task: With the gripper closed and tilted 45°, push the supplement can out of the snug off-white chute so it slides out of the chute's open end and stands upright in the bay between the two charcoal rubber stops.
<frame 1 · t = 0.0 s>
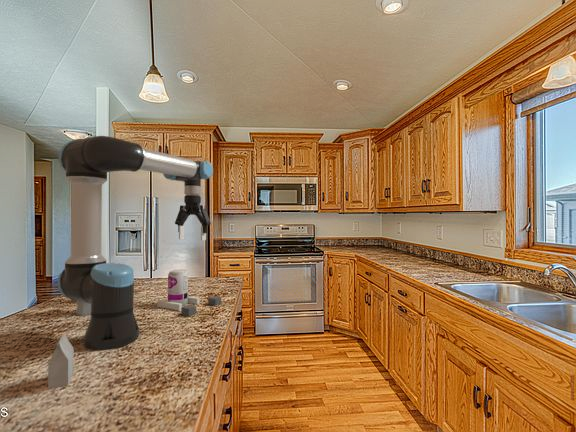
hand: (192, 239, 147), 28 cm above the counter, tool pointing down, fingers open, 13 cm apart
supplement can: (177, 305, 136), on the counter
gray house shaped block: (61, 381, 73), on the counter
chute: (177, 304, 136), on the counter
coffee maker: (90, 313, 124), on the counter
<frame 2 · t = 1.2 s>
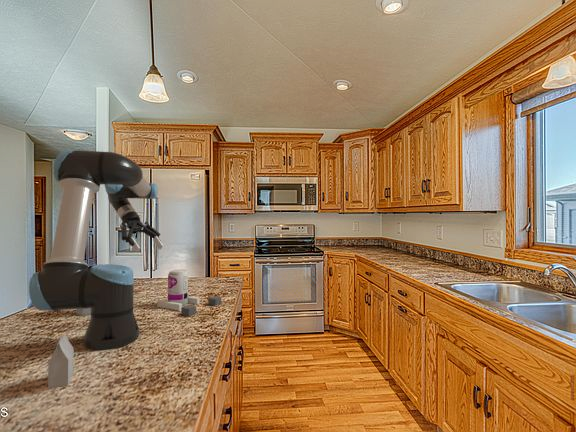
hand: (150, 248, 144), 24 cm above the counter, tool tilted 45°, fingers open, 12 cm apart
nothing on the counter moved.
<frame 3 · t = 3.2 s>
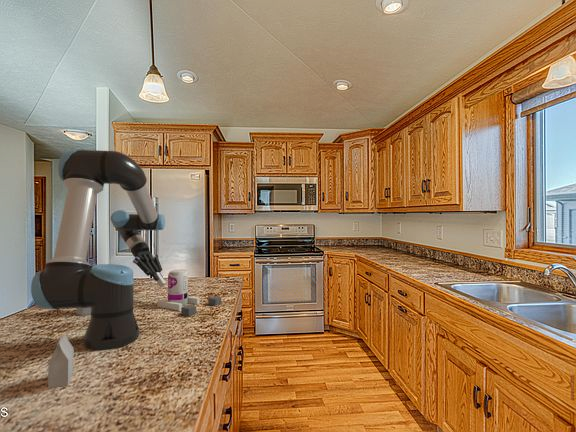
hand: (163, 285, 140), 8 cm above the counter, tool tilted 45°, fingers closed
nothing on the counter moved.
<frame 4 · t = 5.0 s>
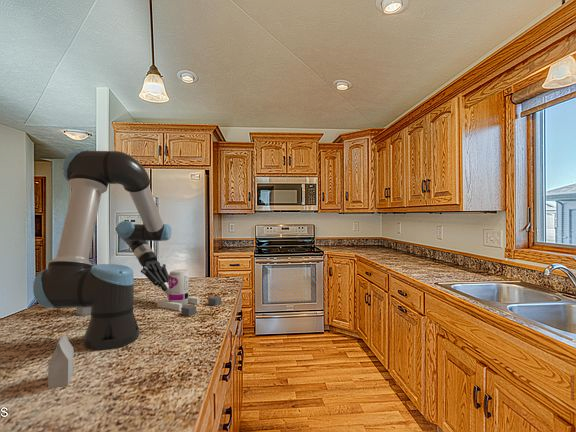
hand: (171, 295, 139), 3 cm above the counter, tool tilted 45°, fingers closed
supplement can: (178, 305, 136), on the counter, touching gripper
everything else where it was.
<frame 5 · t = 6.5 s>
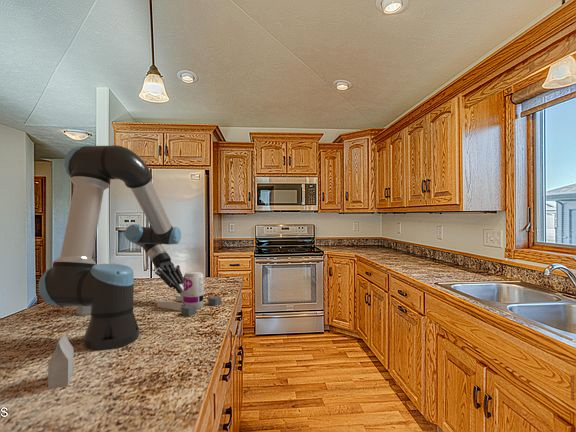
hand: (186, 297, 135), 3 cm above the counter, tool tilted 45°, fingers closed
supplement can: (193, 307, 132), on the counter, touching gripper
everything else where it was.
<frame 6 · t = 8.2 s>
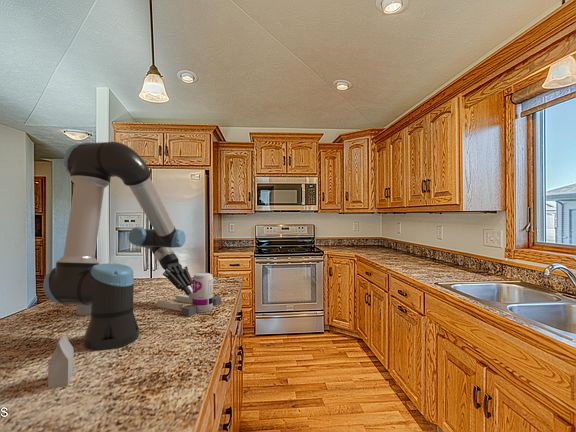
hand: (195, 299, 132), 4 cm above the counter, tool tilted 45°, fingers closed
supplement can: (202, 310, 128), on the counter, touching gripper
everything else where it was.
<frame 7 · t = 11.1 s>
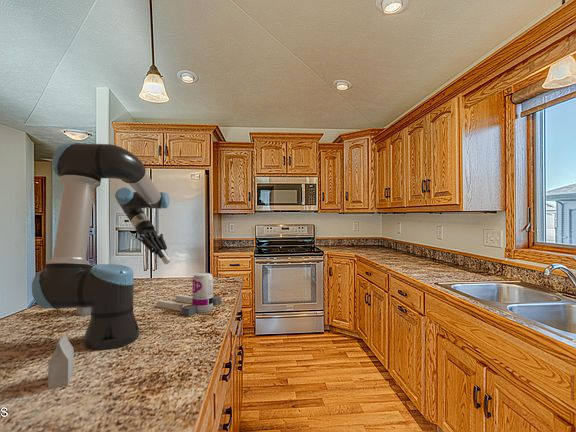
hand: (167, 262, 140), 18 cm above the counter, tool tilted 45°, fingers closed
supplement can: (202, 310, 128), on the counter
everything else where it was.
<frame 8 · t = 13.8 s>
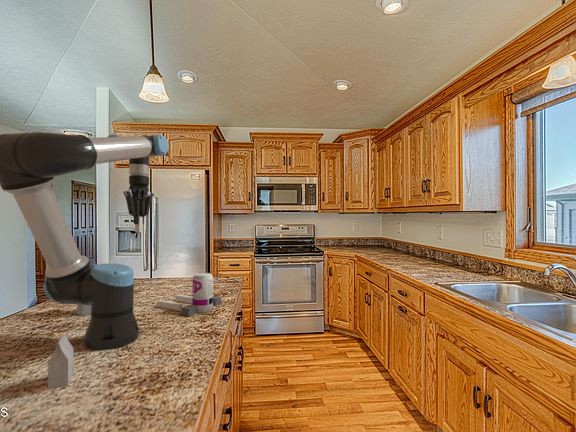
hand: (138, 232, 128), 32 cm above the counter, tool pointing down, fingers closed
nothing on the counter moved.
at the end: supplement can inside the target area (1.7 cm from its centre), on the counter; supplement can tilted 0°; the gripper is holding nothing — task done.
